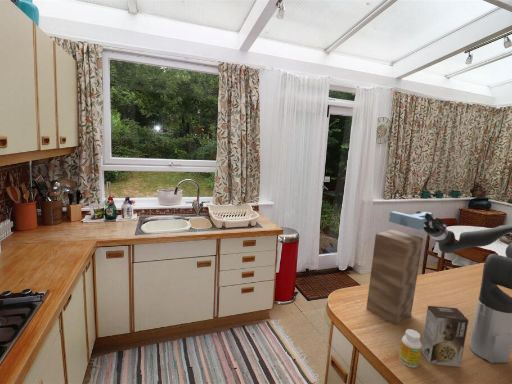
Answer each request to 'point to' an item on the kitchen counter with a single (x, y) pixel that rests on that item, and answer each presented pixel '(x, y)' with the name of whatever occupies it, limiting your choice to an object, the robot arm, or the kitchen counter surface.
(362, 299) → the kitchen counter surface
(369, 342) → the kitchen counter surface
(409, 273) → the pedestal
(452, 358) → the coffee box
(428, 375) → the kitchen counter surface
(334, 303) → the kitchen counter surface
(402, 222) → the t bar
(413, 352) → the supplement bottle
